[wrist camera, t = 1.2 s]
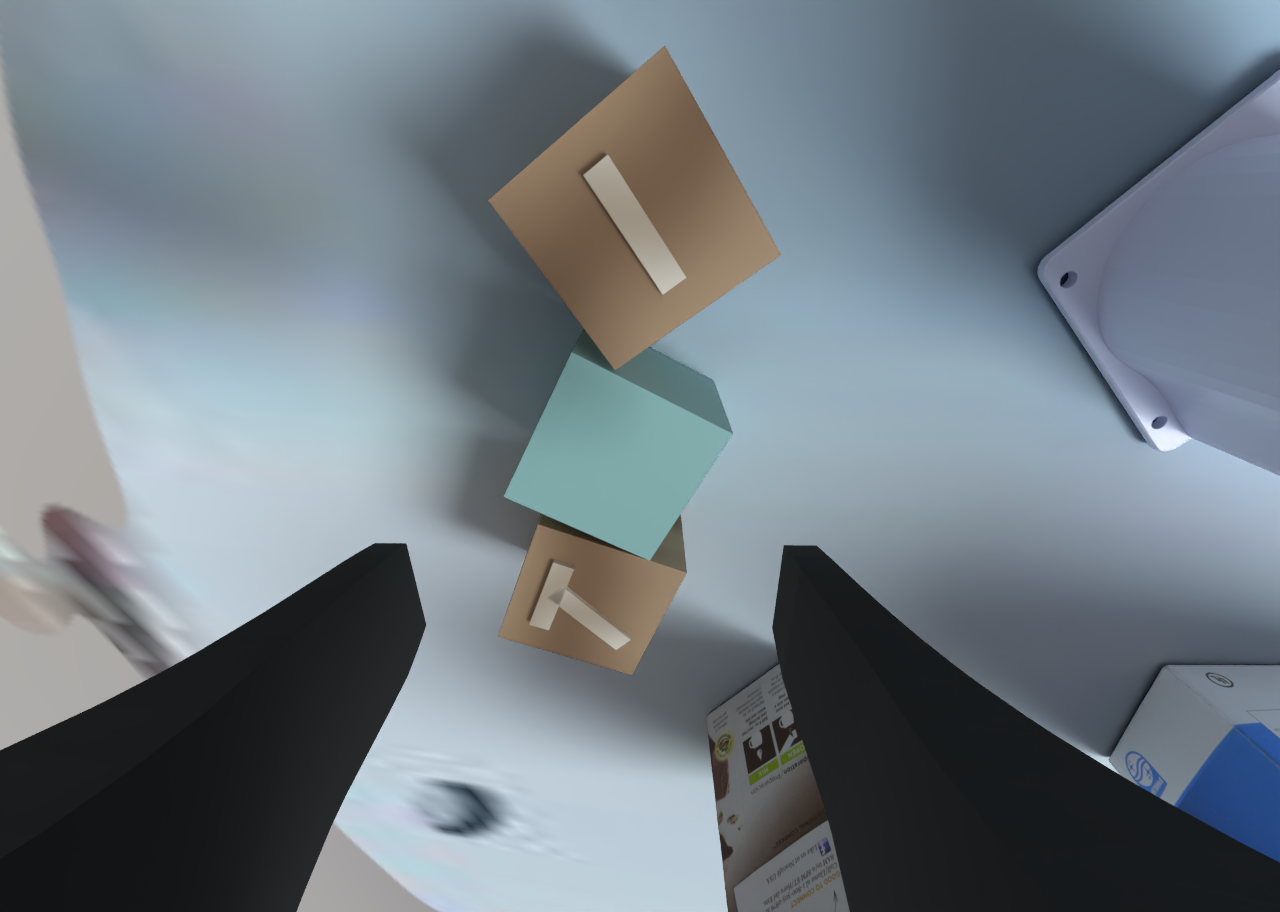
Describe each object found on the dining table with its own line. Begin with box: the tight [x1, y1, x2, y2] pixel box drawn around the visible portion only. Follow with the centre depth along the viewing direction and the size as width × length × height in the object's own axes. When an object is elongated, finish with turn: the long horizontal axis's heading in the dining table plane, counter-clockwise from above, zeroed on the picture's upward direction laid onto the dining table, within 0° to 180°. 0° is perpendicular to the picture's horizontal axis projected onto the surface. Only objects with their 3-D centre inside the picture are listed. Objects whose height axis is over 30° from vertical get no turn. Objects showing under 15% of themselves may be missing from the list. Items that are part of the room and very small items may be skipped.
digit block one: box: [488, 46, 781, 370], centre depth 15 cm, size 5×5×5 cm
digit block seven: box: [498, 513, 687, 675], centre depth 20 cm, size 5×5×5 cm
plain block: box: [504, 329, 733, 561], centre depth 17 cm, size 5×5×5 cm
